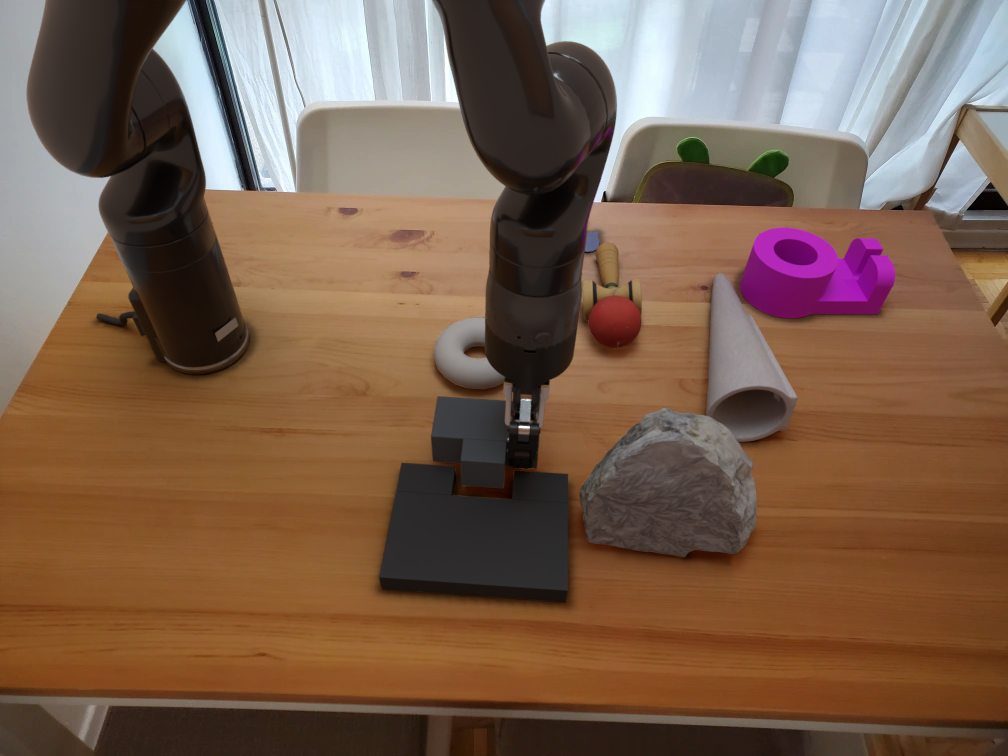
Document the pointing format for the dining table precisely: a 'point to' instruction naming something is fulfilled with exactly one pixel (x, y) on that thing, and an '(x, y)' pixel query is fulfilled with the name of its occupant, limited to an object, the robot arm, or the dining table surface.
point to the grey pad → (473, 439)
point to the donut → (459, 364)
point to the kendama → (612, 302)
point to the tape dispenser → (815, 275)
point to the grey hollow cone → (743, 371)
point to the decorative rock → (672, 488)
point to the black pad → (478, 537)
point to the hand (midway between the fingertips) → (521, 441)
